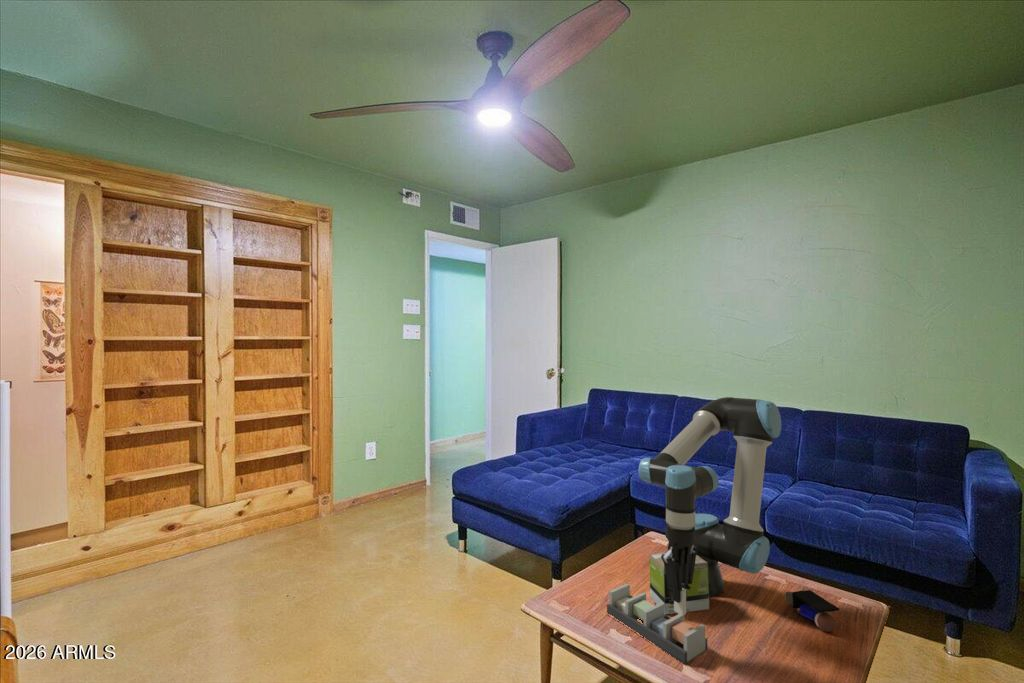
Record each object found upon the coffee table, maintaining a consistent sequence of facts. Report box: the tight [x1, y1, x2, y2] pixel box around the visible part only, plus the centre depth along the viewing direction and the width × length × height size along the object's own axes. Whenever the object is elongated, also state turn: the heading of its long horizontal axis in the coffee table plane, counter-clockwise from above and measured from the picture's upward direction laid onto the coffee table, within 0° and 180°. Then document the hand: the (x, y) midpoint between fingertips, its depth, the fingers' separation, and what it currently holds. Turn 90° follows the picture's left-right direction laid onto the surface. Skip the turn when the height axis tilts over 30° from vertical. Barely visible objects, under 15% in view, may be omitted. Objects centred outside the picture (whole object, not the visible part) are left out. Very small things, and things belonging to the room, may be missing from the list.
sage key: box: [633, 600, 655, 620], centre depth 137 cm, size 5×5×3 cm
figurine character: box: [784, 589, 840, 633], centre depth 140 cm, size 7×8×15 cm
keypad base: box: [606, 583, 708, 665], centre depth 135 cm, size 10×27×7 cm, turn 35°
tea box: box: [649, 551, 710, 615], centre depth 148 cm, size 15×10×15 cm, turn 100°
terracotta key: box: [672, 621, 695, 644], centre depth 126 cm, size 5×5×3 cm
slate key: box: [652, 617, 667, 636], centre depth 132 cm, size 5×5×3 cm
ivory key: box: [616, 597, 630, 613], centre depth 143 cm, size 5×5×3 cm
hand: (680, 612), depth 127 cm, fingers closed
